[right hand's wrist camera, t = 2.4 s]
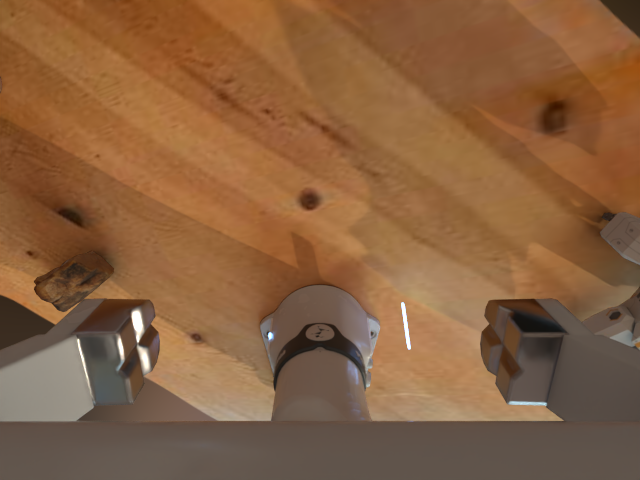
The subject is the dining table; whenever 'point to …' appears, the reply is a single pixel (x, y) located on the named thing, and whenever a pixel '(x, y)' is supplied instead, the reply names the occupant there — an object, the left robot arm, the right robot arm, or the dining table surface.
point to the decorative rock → (73, 280)
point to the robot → (636, 313)
